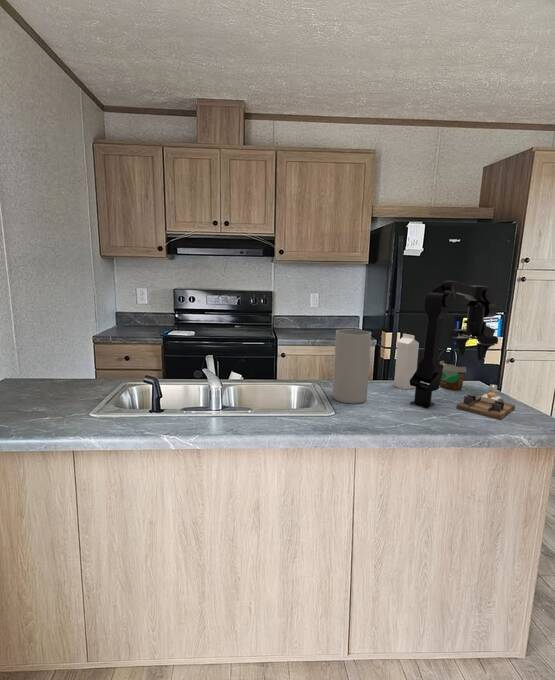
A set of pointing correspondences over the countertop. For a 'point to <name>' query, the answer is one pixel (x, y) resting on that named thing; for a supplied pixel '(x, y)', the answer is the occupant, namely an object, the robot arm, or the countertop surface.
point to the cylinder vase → (351, 365)
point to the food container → (452, 377)
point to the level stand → (485, 407)
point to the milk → (406, 361)
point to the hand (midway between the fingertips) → (470, 358)
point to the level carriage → (491, 395)
